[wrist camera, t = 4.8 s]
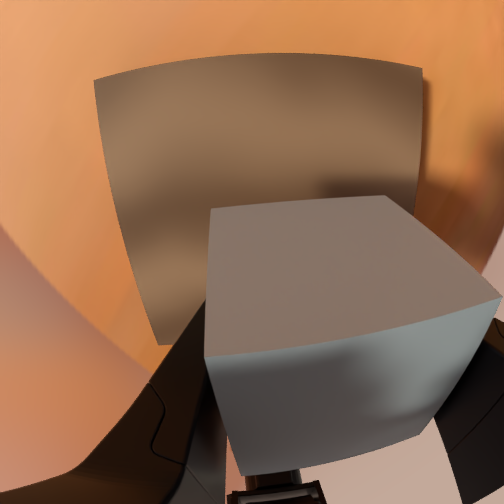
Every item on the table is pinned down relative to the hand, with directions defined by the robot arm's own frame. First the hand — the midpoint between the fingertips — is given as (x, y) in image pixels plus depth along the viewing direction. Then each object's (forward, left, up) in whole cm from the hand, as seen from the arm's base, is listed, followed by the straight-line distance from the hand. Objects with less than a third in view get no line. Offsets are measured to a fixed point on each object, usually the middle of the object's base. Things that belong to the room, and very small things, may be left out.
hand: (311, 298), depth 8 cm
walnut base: (0, 0, -8) cm, 8 cm away
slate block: (0, 0, -1) cm, 1 cm away
